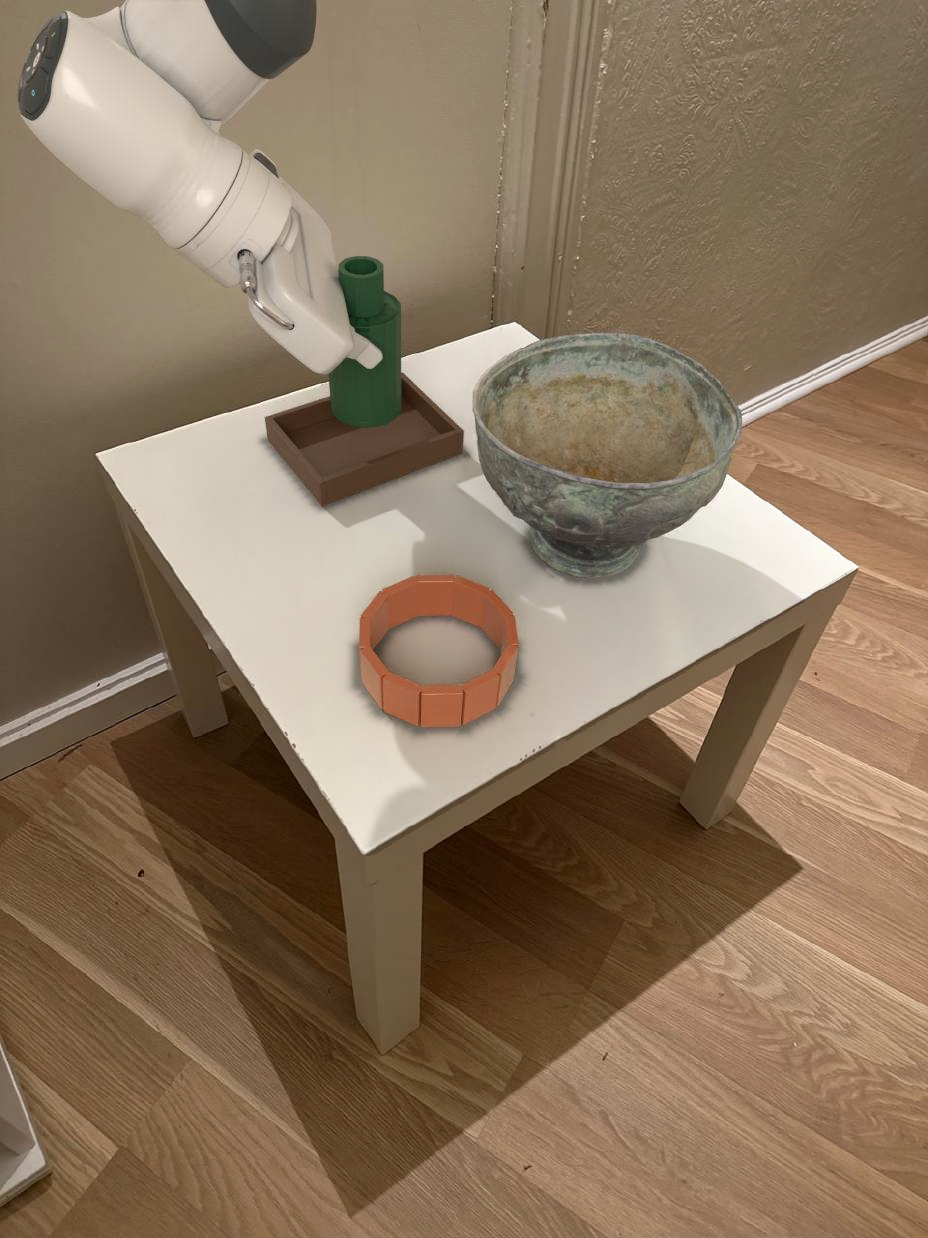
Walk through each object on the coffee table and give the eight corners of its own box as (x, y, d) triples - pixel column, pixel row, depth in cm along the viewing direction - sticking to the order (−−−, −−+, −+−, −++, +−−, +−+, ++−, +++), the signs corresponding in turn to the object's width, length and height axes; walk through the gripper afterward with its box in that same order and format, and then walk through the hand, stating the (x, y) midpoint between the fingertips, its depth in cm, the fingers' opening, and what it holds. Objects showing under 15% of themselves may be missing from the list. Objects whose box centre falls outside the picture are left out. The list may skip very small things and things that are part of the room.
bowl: (428, 513, 80) (431, 366, 69) (597, 448, 87) (625, 306, 76) (559, 661, 69) (588, 516, 58) (738, 572, 77) (795, 429, 65)
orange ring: (360, 729, 64) (358, 696, 61) (362, 609, 72) (360, 575, 69) (519, 725, 65) (525, 692, 62) (505, 607, 73) (509, 573, 70)
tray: (321, 506, 80) (319, 483, 78) (267, 440, 86) (264, 416, 84) (462, 453, 86) (464, 430, 84) (403, 394, 92) (402, 372, 90)
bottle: (330, 428, 79) (319, 285, 69) (332, 386, 84) (322, 246, 73) (401, 428, 80) (401, 286, 70) (400, 387, 84) (400, 248, 74)
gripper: (271, 261, 59) (415, 377, 68) (259, 140, 73) (381, 251, 81) (214, 325, 62) (359, 429, 71) (212, 197, 75) (335, 299, 84)
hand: (370, 333), depth 76 cm, fingers closed on bottle, 6 cm apart
